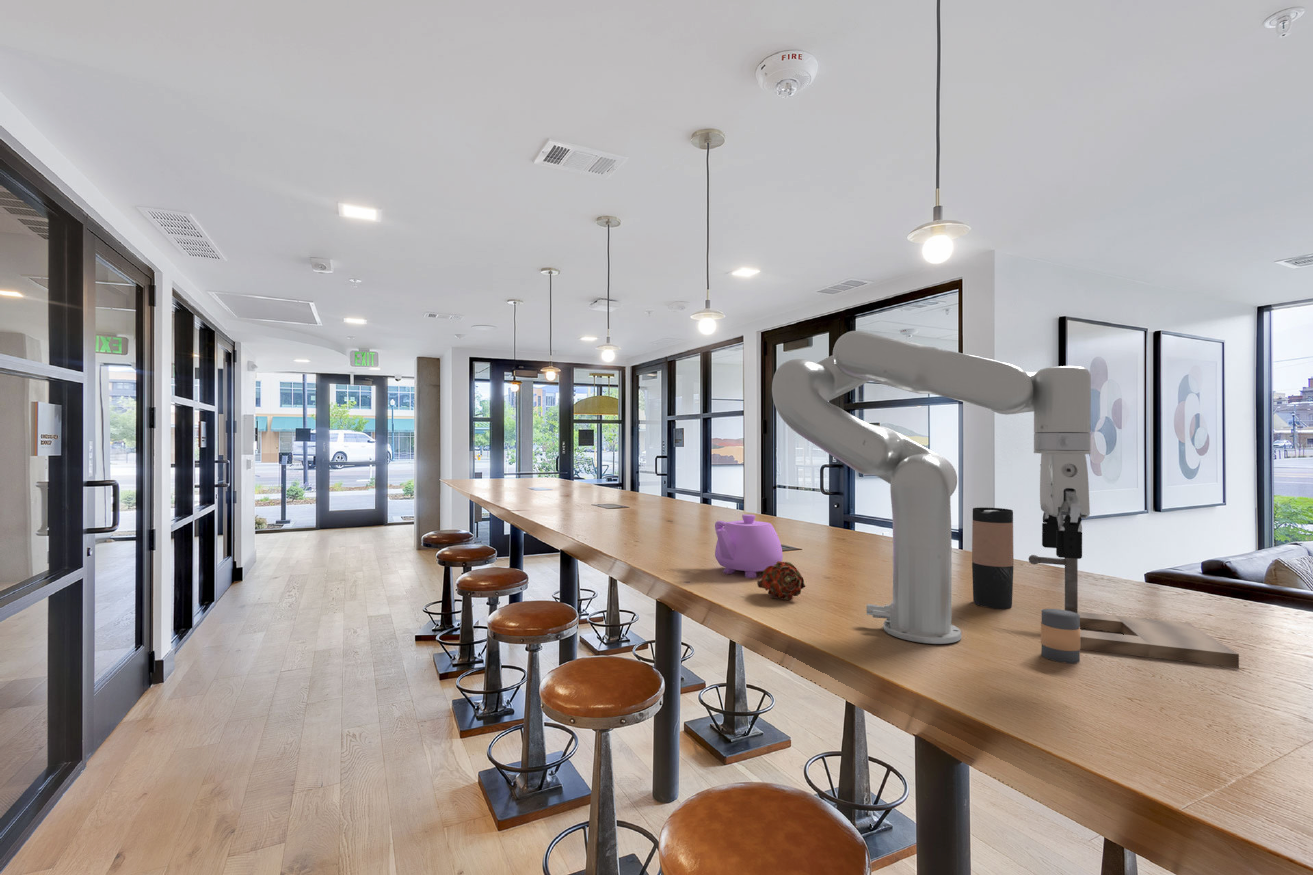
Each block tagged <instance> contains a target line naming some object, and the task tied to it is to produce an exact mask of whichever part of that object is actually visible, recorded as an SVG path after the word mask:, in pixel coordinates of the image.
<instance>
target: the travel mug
mask: <svg viewBox="0 0 1313 875" xmlns="http://www.w3.org/2000/svg"><path fill="white" fill-rule="evenodd" d="M971 525H972V530H971V533H972V534H971V535H972V536H971V537H972V539H971V542H972V543H971V569H972V570H971V572H972V597H973V598H972V599H973V604H975V605H977V606H979V607H984V608H987V609H988V608H989V609H995V610H996V609H997V610H1006V609H1011V608H1012V606H1013V594H1014V592H1013V591H1014V590H1013V589H1014V588H1013V587H1014V563H1015V562H1014V510H1013V509H1008V508H999V507H984V506H983V507H981V506H980V507H973V508H972V524H971Z"/></svg>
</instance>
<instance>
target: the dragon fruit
mask: <svg viewBox="0 0 1313 875" xmlns="http://www.w3.org/2000/svg"><path fill="white" fill-rule="evenodd" d="M759 578H760V579H761V580H757V581H756V584H757V587H758V588H760V589H761V588H762V589H765V591H768V592H767V594H768V595H769V597H770V598H772V599H777V598H780V599H782V600H785V601H790V600H791V599H792V598H793V597H797V596H799V595H801V592H802V590H803V589H804V588H805V587H806V584H805V581H804V577H803V576H802V573H801V572H800V571H799V570H798V568H797V567H796V566H795V565H794V564H792V562H789V561H781V562H780V561H777V563H776V564H775V565H774V566H768V567H767V568H766V569H765V570H764V571H763V572H762V571H761V575H760V576H759Z"/></svg>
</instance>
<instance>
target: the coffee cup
mask: <svg viewBox="0 0 1313 875" xmlns="http://www.w3.org/2000/svg"><path fill="white" fill-rule="evenodd" d="M1080 630H1081V629H1080V615H1079V614H1077V613H1074V612H1071V611H1066V610H1065V609H1060V608H1043V609H1041V622H1040V645H1041V656H1042V657H1043V658H1045V659H1047V660H1051V661H1053V662H1058V663H1062V662H1066V663H1065V664H1078V663H1080V661H1081V660H1080V659H1081V658H1080V654H1081V653H1080V652H1081V651H1080V650H1081V649H1080ZM1077 662H1078V663H1077Z"/></svg>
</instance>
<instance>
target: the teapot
mask: <svg viewBox="0 0 1313 875" xmlns="http://www.w3.org/2000/svg"><path fill="white" fill-rule="evenodd" d="M741 517H742V520H732V521H731V520H730V521H724V520H717V521H715V524H714V529H715V533H716V537H717V541H716V544H715V549H714V557H715V560H716V561H717V563H718V564H719V566H721V567H723V568H724V570H723V571H722V573H723V574H730V575H731V574H735V571H742V572H743V571H744V578H746V579H756V578H758V575H757V572H761V573H762V572H763V571H764V570H765V569H766V568H767V567H768V566H774V565H775V564H776V563H777V561H780V562H783V558H784V557H783V549H782V543H781V540H780V538H779V535H778V533H777V532H776V529H775V528H774V525H773V524H772V523H770V522H765V521H758V520H755V519H756V515H755V514H742V516H741Z"/></svg>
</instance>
